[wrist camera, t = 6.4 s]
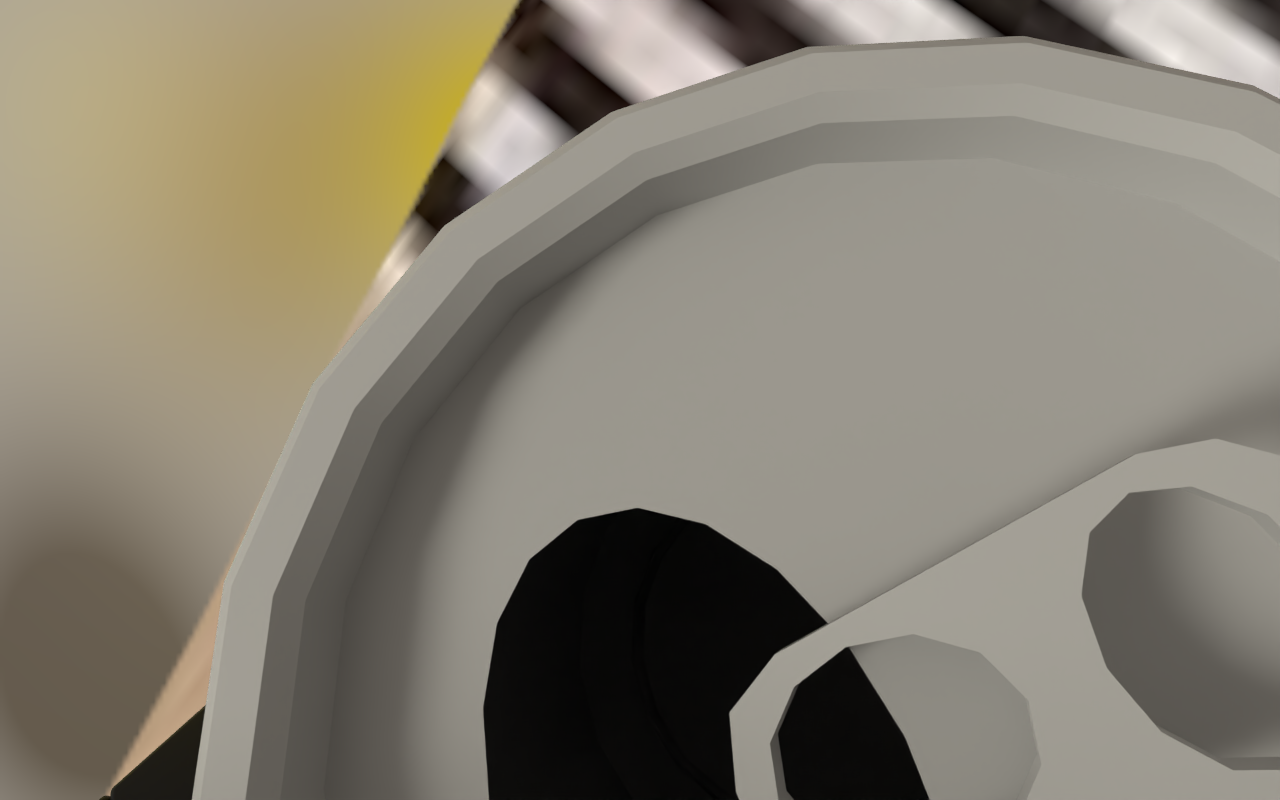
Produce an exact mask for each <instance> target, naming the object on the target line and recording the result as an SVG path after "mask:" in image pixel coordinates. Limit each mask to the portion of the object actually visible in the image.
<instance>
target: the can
mask: <svg viewBox="0 0 1280 800" xmlns="http://www.w3.org/2000/svg"><path fill="white" fill-rule="evenodd" d="M192 800H1280V99H1278V98H1277V97H1275V96H1273V95H1271V94H1269V93H1267V92H1265V91H1263V90H1261V89H1259V88H1257V87H1255V86H1253V85H1248V84H1244V83H1239V82H1235V81H1230V80H1225V79H1221V78H1216V77H1211V76H1207V75H1202V74H1197V73H1193V72H1188V71H1184V70H1179V69H1174V68H1170V67H1165V66H1160V65H1156V64H1151V63H1146V62H1142V61H1137V60H1133V59H1128V58H1123V57H1119V56H1114V55H1109V54H1105V53H1100V52H1095V51H1091V50H1086V49H1082V48H1077V47H1072V46H1068V45H1063V44H1058V43H1054V42H1049V41H1044V40H1040V39H1035V38H1030V37H1026V36H1015V37H995V38H975V39H956V40H936V41H917V42H897V43H878V44H858V45H838V46H819V47H806V48H803V49H800V50H797V51H794V52H791V53H788V54H785V55H782V56H779V57H776V58H773V59H770V60H767V61H764V62H761V63H758V64H755V65H752V66H749V67H746V68H743V69H740V70H737V71H734V72H731V73H728V74H725V75H722V76H719V77H716V78H713V79H710V80H707V81H704V82H701V83H698V84H695V85H692V86H689V87H686V88H683V89H680V90H677V91H674V92H671V93H668V94H665V95H662V96H659V97H656V98H653V99H650V100H647V101H643V102H640V103H637V104H634V105H631V106H628V107H625V108H622V109H619V110H616V111H613V112H611V113H610V114H608V115H607V116H605V117H604V118H602V119H601V120H599V121H598V122H596V123H595V124H593V125H592V126H590V127H589V128H588V129H586V130H585V131H583V132H582V133H580V134H579V135H577V136H576V137H574V138H573V139H571V140H570V141H568V142H567V143H565V144H564V145H563V146H561V147H560V148H558V149H557V150H555V151H554V152H552V153H551V154H549V155H548V156H546V157H545V158H543V159H542V160H540V161H539V162H537V163H536V164H535V165H533V166H532V167H530V168H529V169H527V170H526V171H524V172H523V173H521V174H520V175H518V176H517V177H515V178H514V179H512V180H511V181H510V182H508V183H507V184H505V185H504V186H502V187H501V188H499V189H498V190H496V191H495V192H493V193H492V194H490V195H489V196H487V197H486V198H485V199H483V200H482V201H480V202H479V203H477V204H476V205H474V206H473V207H471V208H470V209H468V210H467V211H465V212H464V213H462V214H461V215H459V216H458V217H457V218H455V219H454V220H452V221H451V222H449V223H448V224H446V225H445V226H444V227H443V228H442V229H441V230H440V232H439V233H438V234H437V235H436V236H435V238H434V239H433V240H432V241H431V242H430V244H429V245H428V246H427V247H426V248H425V250H424V251H423V252H422V253H421V254H420V256H419V257H418V258H417V259H416V260H415V262H414V263H413V264H412V265H411V266H410V268H409V269H408V270H407V271H406V272H405V274H404V275H403V276H402V277H401V278H400V280H399V281H398V282H397V283H396V284H395V286H394V287H393V288H392V289H391V290H390V292H389V293H388V294H387V295H386V296H385V298H384V299H383V300H382V301H381V302H380V304H379V305H378V306H377V307H376V308H375V310H374V311H373V312H372V313H371V314H370V316H369V317H368V318H367V319H366V320H365V321H364V323H363V324H362V325H361V326H360V327H359V329H358V330H357V331H356V332H355V333H354V335H353V336H352V337H351V338H350V339H349V341H348V342H347V343H346V344H345V345H344V347H343V348H342V349H341V350H340V351H339V353H338V354H337V355H336V356H335V357H334V359H333V360H332V361H331V362H330V363H329V365H328V366H327V367H326V368H325V369H324V371H323V372H322V373H321V374H320V375H319V377H318V378H317V379H316V380H315V382H314V383H313V384H312V386H311V388H310V391H309V393H308V395H307V397H306V399H305V402H304V404H303V406H302V409H301V411H300V413H299V415H298V418H297V420H296V422H295V424H294V426H293V429H292V431H291V433H290V435H289V438H288V440H287V442H286V444H285V447H284V449H283V451H282V453H281V456H280V458H279V460H278V462H277V465H276V467H275V469H274V471H273V474H272V476H271V478H270V480H269V482H268V485H267V487H266V489H265V491H264V494H263V496H262V498H261V500H260V503H259V505H258V507H257V509H256V512H255V514H254V516H253V518H252V521H251V523H250V525H249V527H248V530H247V532H246V534H245V536H244V539H243V541H242V543H241V545H240V548H239V550H238V552H237V554H236V556H235V559H234V561H233V563H232V565H231V568H230V570H229V572H228V574H227V577H226V579H225V581H224V586H223V593H222V599H221V606H220V613H219V620H218V626H217V633H216V640H215V647H214V653H213V660H212V667H211V674H210V680H209V687H208V694H207V701H206V707H205V714H204V721H203V728H202V734H201V741H200V748H199V755H198V761H197V768H196V775H195V782H194V788H193V795H192Z"/></svg>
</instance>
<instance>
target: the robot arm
mask: <svg viewBox="0 0 1280 800" xmlns="http://www.w3.org/2000/svg"><path fill="white" fill-rule="evenodd" d="M205 707H206V705H205V706H204V707H203V708H202V709H201V710H200V711H198V712H197V713H196V714H195V715H194V716H193V717H192V718H191V719H189V720H188V721H187V722H186V723H185V724H184V725H183V726H182V727H180V728H179V729H178V730H177V731H176V732H175V733H174V734H173V735H171V736H170V737H169V738H168V739H167V740H166V741H165V742H164V743H162V744H161V745H160V746H159V747H158V748H157V749H156V750H155V751H154V752H152V753H151V754H150V755H149V756H148V757H147V758H146V759H145V760H143V761H142V762H141V763H140V764H139V765H138V766H137V767H136V768H134V769H133V770H132V771H131V772H130V773H129V774H128V775H127V776H125V777H124V778H123V779H122V780H121V781H120V782H119V783H118V784H116V785H115V786H114V787H113V788H112V790H111V796H103V797H102V798H100V799H99V800H192V795H193V788H194V782H195V775H196V768H197V761H198V755H199V748H200V741H201V734H202V728H203V721H204V714H205Z"/></svg>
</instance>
